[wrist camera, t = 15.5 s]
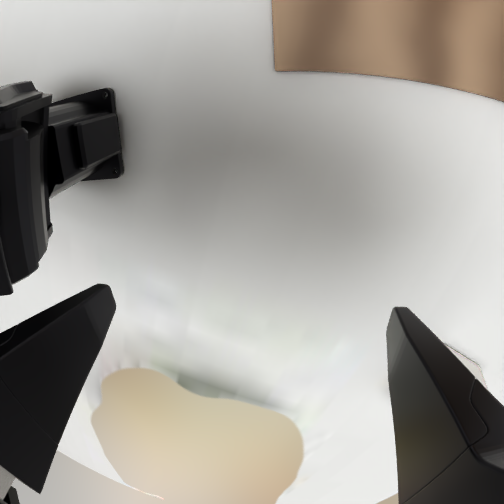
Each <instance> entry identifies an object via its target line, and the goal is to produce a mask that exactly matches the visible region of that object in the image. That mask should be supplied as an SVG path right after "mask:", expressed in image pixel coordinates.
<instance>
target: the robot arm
mask: <svg viewBox="0 0 504 504" xmlns="http://www.w3.org/2000/svg"><path fill="white" fill-rule="evenodd" d="M106 92H107V94H108V96H107V98H106V97H105V93H106ZM115 168H116V169H117V170H118V173H116V172H115ZM123 172H124V169H123V163H122V157H121V144H120V136H119V129H118V121H117V116H116V111H115V101H114V93H113V90H112V89H111V88H104V89H99V90H96V91H92V92H88V93H84V94H81V95H77V96H74V97H70V98H67V99H64V100H60V101H57V102H54V103H52V94H43V92H38V90H36V89H35V87H34V85H33V83H32V81H24V82H19V83H14V84H9V85H5V86H1V87H0V296H3V295H10V294H12V293H13V288H12V285H13V284H15V283H17V282H19V281H21V280H23V279H25V278H26V277H28V276H29V275H31V274H32V273H33V272H34V271H36V270H37V269H38V267H39V263H38V262H39V261H40V259H41V258H42V256H43V255H44V253H45V252H46V250H47V245H48V239H49V237H50V236H51V234H52V232H53V228H52V223H51V222H50V209H49V199H50V198H52V197H53V196H55V195H57V194H58V193H60V192H62V191H63V190H65V189H67V188H69V187H70V186H72V185H74V184H75V183H77V182H79V181H88V180H100V179H113V178H118V177H120V176H121V175H122V174H123ZM115 311H116V303H115V300H114V297H113V294H112V291H111V288H110V286H109V285H107V284H96V285H94V286H92V287H90V288H88V289H86V290H84V291H82V292H80V293H78V294H76V295H74V296H72V297H70V298H68V299H66V300H64V301H62V302H60V303H58V304H56V305H54V306H52V307H50V308H48V309H46V310H44V311H42V312H40V313H38V314H36V315H34V316H33V317H31V318H29V319H27V320H25V321H23V322H21V323H19V324H18V325H15V326H13V327H11V328H10V329H8V330H6V331H4V332H2V333H0V504H20V503H19V500H18V495H17V491H16V489H15V488H13V487H12V486H11V485H12V483H13V481H14V479H15V478H17V479H18V480H20V481H21V482H23V483H24V484H25V485H27V486H29V487H30V488H31V489H33V490H34V491H36V492H37V493H39V494H40V493H41V491H42V489H43V486H44V483H45V480H46V477H47V474H48V472H49V469H50V466H51V463H52V461H53V458H54V455H55V453H56V450H57V448H58V444H59V442H60V439H61V437H62V434H63V432H64V429H65V427H66V425H67V422H68V420H69V417H70V415H71V413H72V410H73V408H74V406H75V403H76V401H77V399H78V397H79V394H80V392H81V390H82V388H83V385H84V383H85V381H86V379H87V377H88V374H89V372H90V370H91V368H92V366H93V364H94V362H95V360H96V358H97V355H98V353H99V351H100V349H101V347H102V345H103V342H104V339H105V337H106V334H107V331H108V329H109V326H110V324H111V321H112V318H113V316H114V313H115ZM386 337H387V358H388V381H389V390H390V397H391V405H392V414H393V423H394V433H395V444H396V456H397V472H398V496H399V504H504V406H503V405H502V404H501V403H500V402H499V401H498V400H497V399H496V398H495V397H494V396H493V395H492V394H491V393H490V392H489V391H488V390H487V389H486V388H485V387H484V386H483V384H482V383H481V382H480V381H479V380H478V379H477V378H476V379H475V376H474V375H473V374H472V373H471V372H470V371H469V369H468V368H467V367H466V366H465V365H464V364H463V363H462V362H461V361H460V360H459V359H458V358H457V357H456V356H455V355H454V354H453V353H452V352H451V351H450V350H449V348H448V347H447V346H446V345H445V344H444V343H443V342H442V341H441V340H440V339H439V338H438V337H437V336H436V335H435V334H434V333H433V332H432V331H431V330H430V329H429V328H428V327H427V326H426V325H425V324H424V323H423V322H422V321H421V320H420V319H419V318H418V317H417V316H416V315H415V314H414V313H413V312H412V311H411V310H409V309H408V308H407V307H394V308H393V310H392V312H391V316H390V320H389V323H388V326H387V332H386Z"/></svg>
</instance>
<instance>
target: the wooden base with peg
mask: <svg viewBox="0 0 504 504" xmlns="http://www.w3.org/2000/svg"><path fill="white" fill-rule="evenodd" d="M272 16H273V36H274V60H275V70H276V71H321V72H340V73H354V74H365V75H375V76H383V77H391V78H398V79H405V80H412V81H418V82H423V83H429V84H434V85H439V86H444V87H449V88H453V89H458V90H462V91H466V92H470V93H474V94H478V95H482V96H485V97H489V98H492V99H496V100H499V101H502V102H504V0H272Z"/></svg>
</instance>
